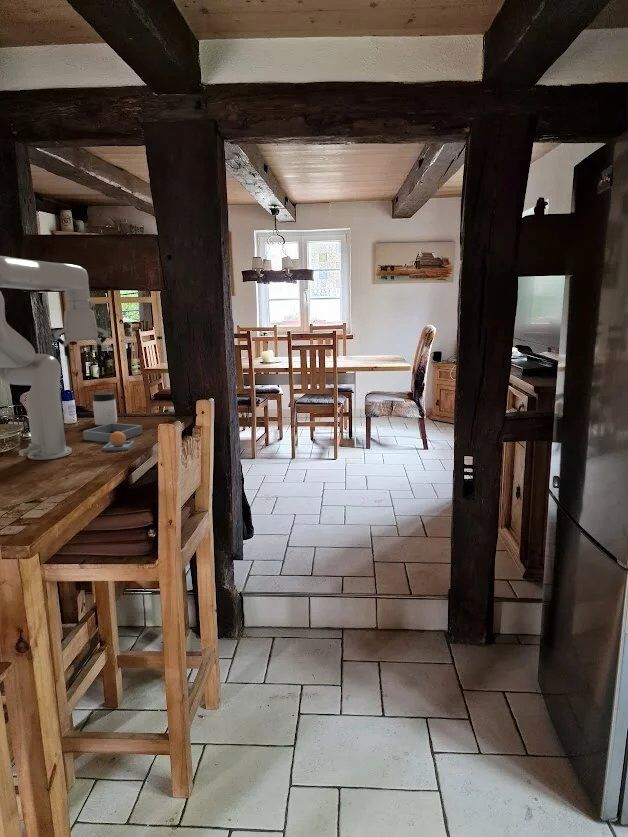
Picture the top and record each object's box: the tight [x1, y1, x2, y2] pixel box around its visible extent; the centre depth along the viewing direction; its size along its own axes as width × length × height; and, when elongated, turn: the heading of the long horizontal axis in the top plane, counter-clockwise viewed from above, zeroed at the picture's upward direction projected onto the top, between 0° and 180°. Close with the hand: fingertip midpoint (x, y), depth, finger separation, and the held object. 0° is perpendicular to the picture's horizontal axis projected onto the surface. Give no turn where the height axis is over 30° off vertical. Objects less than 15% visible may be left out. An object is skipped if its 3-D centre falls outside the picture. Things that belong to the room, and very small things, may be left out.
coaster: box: [102, 440, 136, 452], centre depth 183 cm, size 8×8×1 cm
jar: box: [91, 390, 118, 426], centre depth 218 cm, size 9×8×12 cm
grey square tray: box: [82, 422, 144, 443], centre depth 197 cm, size 14×14×3 cm
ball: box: [110, 431, 127, 447], centre depth 182 cm, size 5×5×5 cm
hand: (84, 357), depth 190 cm, fingers open, 9 cm apart
